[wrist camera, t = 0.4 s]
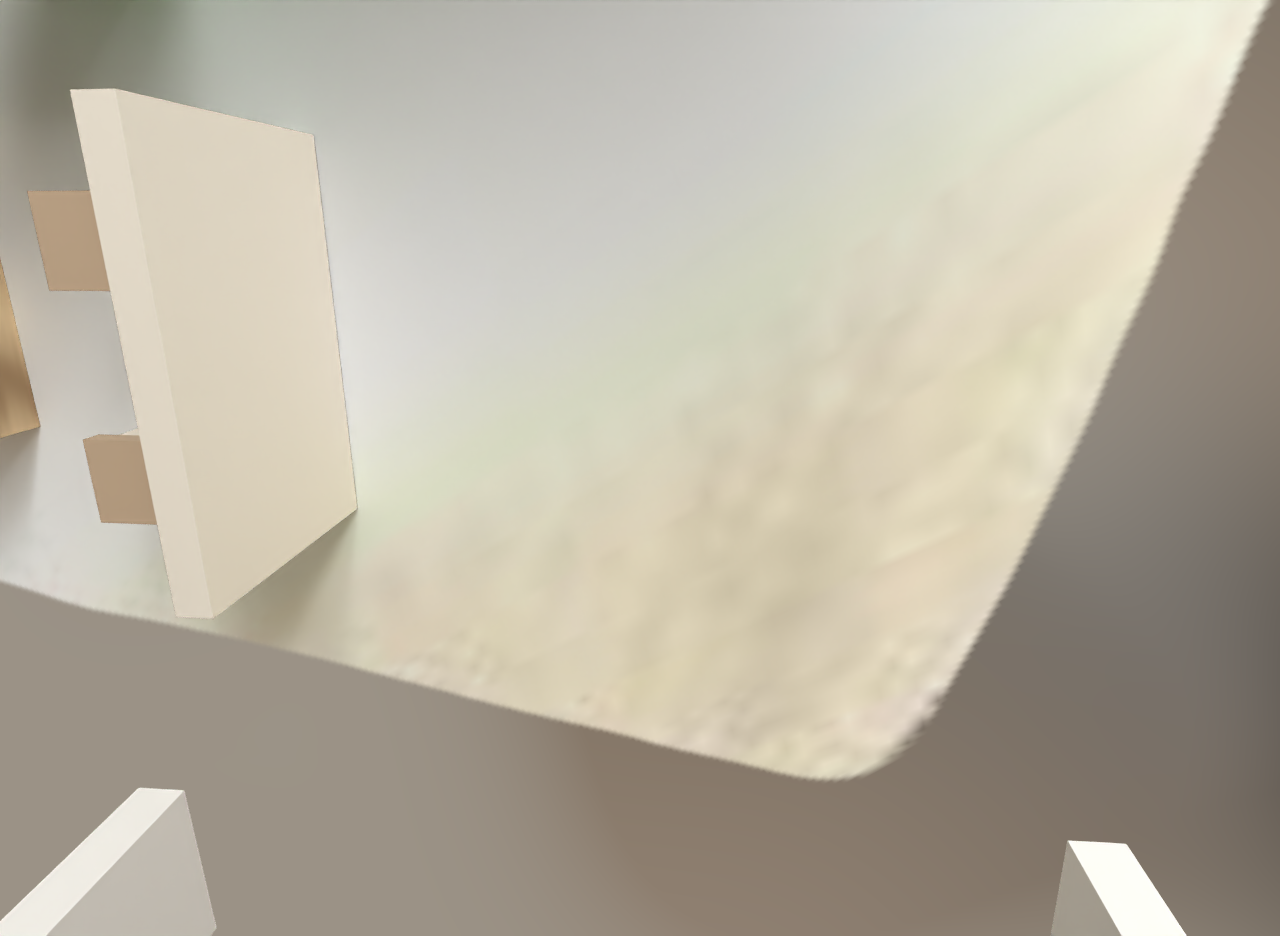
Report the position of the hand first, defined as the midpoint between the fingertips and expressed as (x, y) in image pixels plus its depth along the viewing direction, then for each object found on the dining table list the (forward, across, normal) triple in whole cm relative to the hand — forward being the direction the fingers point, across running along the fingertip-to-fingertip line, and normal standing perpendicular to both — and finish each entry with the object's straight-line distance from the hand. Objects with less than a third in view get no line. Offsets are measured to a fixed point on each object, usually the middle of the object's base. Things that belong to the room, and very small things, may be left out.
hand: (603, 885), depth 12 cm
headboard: (+27, -20, +5) cm, 34 cm away
